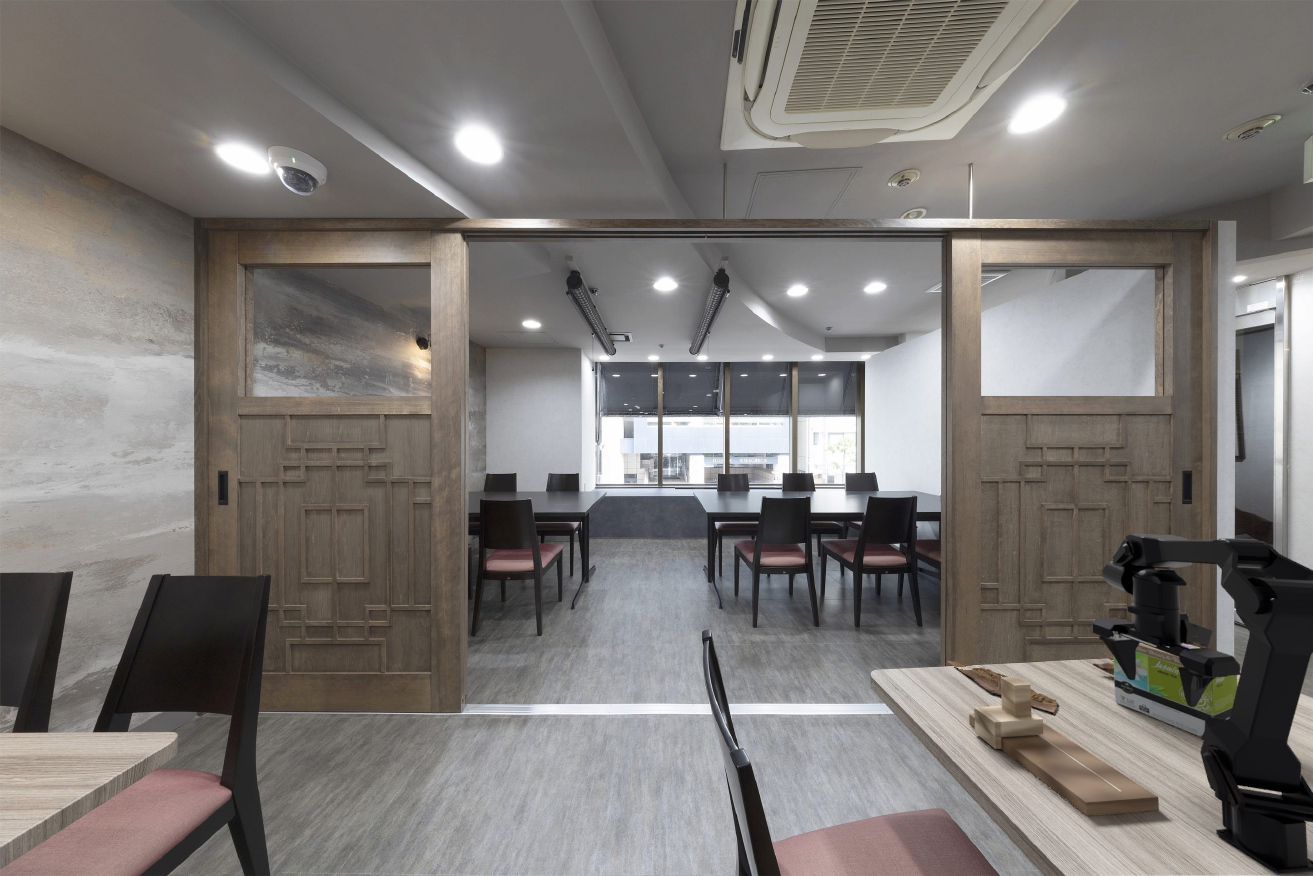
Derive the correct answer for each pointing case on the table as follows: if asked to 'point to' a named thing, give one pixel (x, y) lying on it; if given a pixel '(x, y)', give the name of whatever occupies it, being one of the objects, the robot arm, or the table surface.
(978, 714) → the block
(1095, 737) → the table surface
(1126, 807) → the walnut board
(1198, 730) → the tea box
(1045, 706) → the wooden fragment
